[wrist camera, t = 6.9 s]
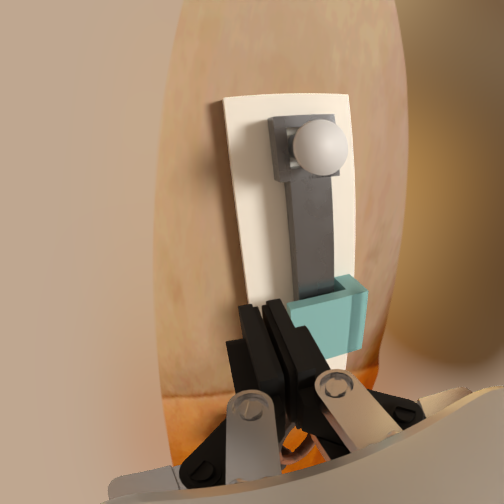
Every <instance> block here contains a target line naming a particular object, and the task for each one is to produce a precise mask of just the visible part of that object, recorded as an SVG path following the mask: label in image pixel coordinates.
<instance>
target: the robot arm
mask: <svg viewBox="0 0 504 504" xmlns="http://www.w3.org/2000/svg"><path fill="white" fill-rule="evenodd" d="M238 309H239V316H240V322H241V329H242V335H243V339H238V340H232V341H227V342H226V346H227V352H228V357H229V362H230V367H231V373H232V378H233V383H234V388H235V393H236V394H235V395H234V396H233V397H232V398H231V399H230V401H229V402H228V405H227V417H226V418H225V420H224V421H223V422H222V423H221V424H220V425H219V426H218V427H217V428H216V429H215V430H214V431H213V432H212V433H211V434H210V435H209V436H208V437H207V438H206V440H205V441H204V442H203V443H202V444H201V445H200V446H199V447H198V448H197V449H196V450H195V451H194V452H193V453H192V454H191V455H190V456H189V457H188V458H186V459H185V460H184V462H183V463H182V464H181V465H178V466H175V467H171V466H166V467H162V468H158V469H154V470H149V471H144V472H140V473H135V474H130V475H124V476H120V477H117V478H115V479H114V480H112V481H111V483H110V484H109V487H108V496H109V500H108V501H105V502H103V503H101V504H504V386H502V385H500V386H493V387H488V388H484V389H481V390H478V391H475V392H472V391H471V390H469V389H468V388H465V387H456V388H453V389H450V390H446V391H443V392H440V393H436V394H433V395H429V396H426V397H422V398H419V399H418V401H415V402H414V401H411V400H409V399H405V398H400V397H396V396H392V395H388V394H384V393H380V392H377V391H373V390H369V389H366V388H365V387H364V386H363V385H362V384H361V383H360V381H359V380H358V379H357V378H356V377H355V376H354V375H353V374H352V373H350V372H348V371H346V370H342V369H330V367H329V365H328V363H327V361H326V360H325V358H324V356H323V354H322V353H321V351H320V349H319V347H318V345H317V344H316V342H315V340H314V338H313V337H312V335H311V333H310V331H309V330H308V328H307V327H306V326H305V325H304V326H300V327H295V326H294V324H293V322H292V320H291V319H290V317H289V315H288V313H287V311H286V309H285V307H284V305H283V303H282V301H281V299H280V298H278V299H273V300H268V301H266V305H262V316H261V313H260V311H259V308H258V306H256V307H253V305H252V304H247V305H242V306H238ZM262 317H263V318H262ZM286 415H287V418H288V420H289V423H294V422H295V425H296V428H297V429H300V428H302V431H304V432H307V433H310V435H311V438H312V440H313V441H314V443H315V444H316V446H317V448H318V449H319V451H320V452H321V454H322V455H323V457H324V458H325V460H326V462H324V463H321V464H318V465H315V466H312V467H308V468H305V469H301V470H297V471H294V472H290V473H286V474H282V473H281V465H280V456H279V447H278V444H279V443H280V442H281V440H282V439H283V438H284V436H285V425H286Z"/></svg>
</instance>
